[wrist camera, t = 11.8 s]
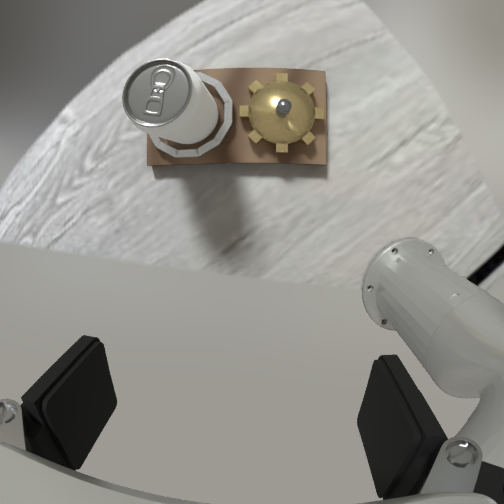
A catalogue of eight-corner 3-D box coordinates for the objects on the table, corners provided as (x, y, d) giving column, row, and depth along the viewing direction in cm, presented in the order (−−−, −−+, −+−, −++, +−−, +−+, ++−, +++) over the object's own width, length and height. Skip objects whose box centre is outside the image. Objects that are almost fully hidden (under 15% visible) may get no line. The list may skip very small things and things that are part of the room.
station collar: (233, 73, 30) (232, 70, 29) (232, 156, 33) (231, 155, 32) (150, 80, 31) (147, 77, 30) (148, 159, 33) (145, 159, 32)
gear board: (322, 74, 31) (325, 71, 30) (323, 164, 34) (326, 164, 33) (153, 78, 32) (149, 75, 30) (151, 165, 35) (147, 165, 33)
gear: (320, 79, 30) (328, 67, 26) (321, 154, 33) (330, 152, 28) (240, 76, 31) (237, 63, 26) (240, 152, 33) (237, 149, 28)
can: (225, 95, 31) (208, 58, 19) (210, 150, 33) (185, 139, 21) (170, 85, 31) (131, 51, 19) (156, 139, 32) (108, 126, 21)
